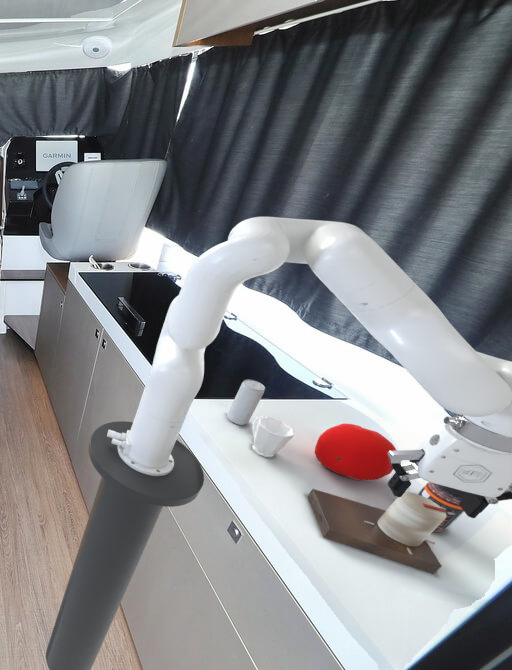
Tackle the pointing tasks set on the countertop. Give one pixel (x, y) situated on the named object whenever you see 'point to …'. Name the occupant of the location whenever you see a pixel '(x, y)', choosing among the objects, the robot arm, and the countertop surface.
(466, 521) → the countertop surface
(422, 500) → the cream dial knob
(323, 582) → the countertop surface
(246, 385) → the beverage can
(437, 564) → the dial plaque
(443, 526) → the supplement bottle
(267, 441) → the cup
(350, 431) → the tomato
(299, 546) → the countertop surface
